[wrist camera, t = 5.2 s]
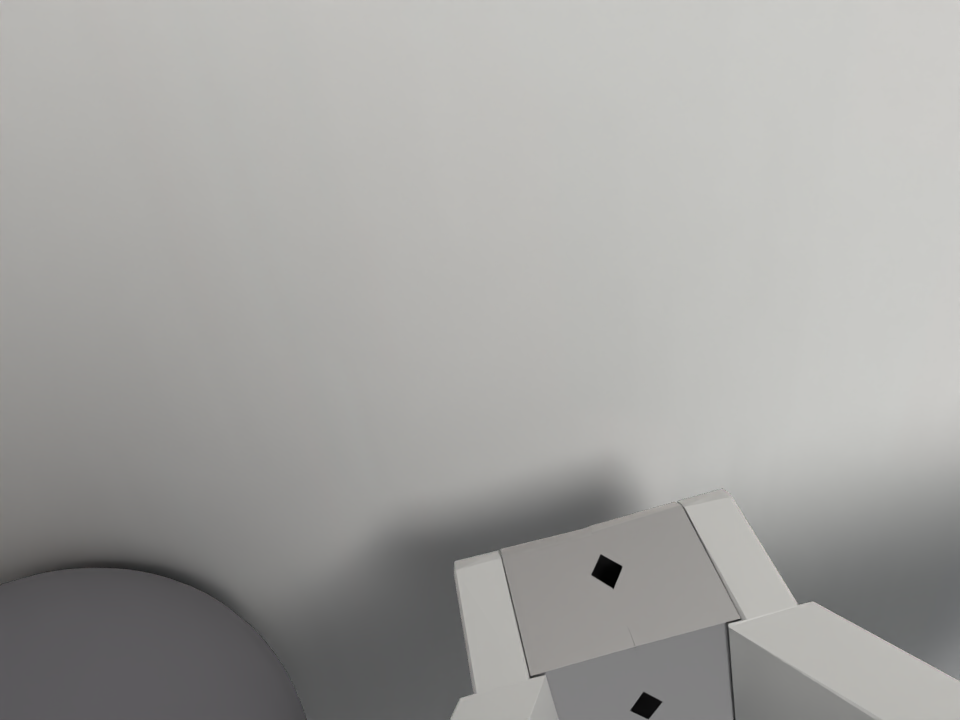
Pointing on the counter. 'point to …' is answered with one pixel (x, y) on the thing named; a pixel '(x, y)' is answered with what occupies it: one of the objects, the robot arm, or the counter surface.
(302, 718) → the gray ball
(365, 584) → the counter surface
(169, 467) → the counter surface
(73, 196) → the counter surface
